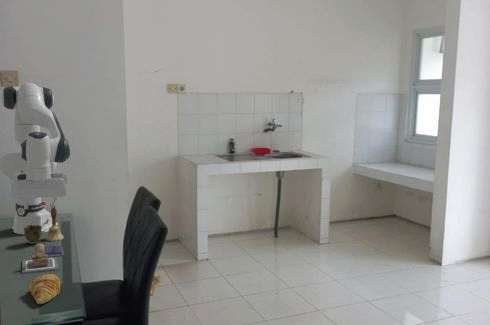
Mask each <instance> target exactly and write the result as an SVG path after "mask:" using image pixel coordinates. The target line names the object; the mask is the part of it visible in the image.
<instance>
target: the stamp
mask: <svg viewBox="0 0 490 325" xmlns="http://www.w3.org/2000/svg"><path fill="white" fill-rule="evenodd" d="M34 245H35V249H34V250H35V255H32V259H31V260H33V268H34V267H43V266H48V258H49V257H47V254H45V255H44V247H45V244H43V243H37V244H34Z"/></svg>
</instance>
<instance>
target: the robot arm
mask: <svg viewBox="0 0 490 325" xmlns="http://www.w3.org/2000/svg"><path fill="white" fill-rule="evenodd" d="M0 100H1V103H2V105H3V107H4V108H5V109H7V110H8V109H9V110H15V112H14V139H15V141H16V142H17V143H18V144H19V145H20V147H21V152H11V153H5V154H2V155H1V156H0V173H1V174H2V175H4V176H5V177H7V178H8V179H9V180H10V181H11V185H10V186H11V187H10V198H11V199H12V200H16V203H15V206H14V208H15V211H16V212H15V213H14V217H13V218H14V220H13V226H12V228H11V229H12V230H13V232H12V233H15V234H17V235H25V232H24V227H25V228H27V226H30V225H32V226H34V225H35V226H36V225H38V226H39V225H40V226H41V227H42V230H41V234H45V233H49V228H50V227H51V226H52V217H51V211H48V210H47V209H45V207H44V206H47V203H48V202H47V201H44V200H42V199H43V198H52V200H53V201H52V202H50V203H49V208H50V209H51V208H54V206H55V204H56V202H57V201H58V198H62V197H63V198H65V197H66V195H67V186H66V184H67V183H68V177H67V175H65V174H63V173H54V172H55V170H56V168H57V165H58V163H59V164H61V163H65V162H66V161H67V160H68V159H69V158H70V157H71V146H70V144H69V141H68V139H67V138H66V137H65V134H64V132H63V129H62V127H61V125H60V122H59V120H58V117H57V116H56V114H55V112H54V111H52V110H50V109H51V108H52V107H53V105H54V103H55V96H54V93H53V91H52V89H51V88H49V87H45V86H43V87H40V86H39V85H37V84H35V83H33V82H26V83H24V84H22V85H19V86H13V85H11V86H5V87H4V88H3V90H2V91H1V95H0ZM41 127H42V128H45V129H47V130H49V131H50V134H51V137H52V138H50V137H49V135H48V133H46V132H42V131H41ZM58 225H59V223H58V222H57V221H56V226H58Z"/></svg>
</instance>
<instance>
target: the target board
mask: <svg viewBox="0 0 490 325" xmlns="http://www.w3.org/2000/svg"><path fill="white" fill-rule="evenodd" d="M21 264H22V268H21V273H22V274H29V273H30V274H31V273H32V274H33V273H42V272H50V271H58V270H59V263H58V256H52V257H48V266H43V267H34V268H33V260H32V259H23V260H22V263H21Z"/></svg>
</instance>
